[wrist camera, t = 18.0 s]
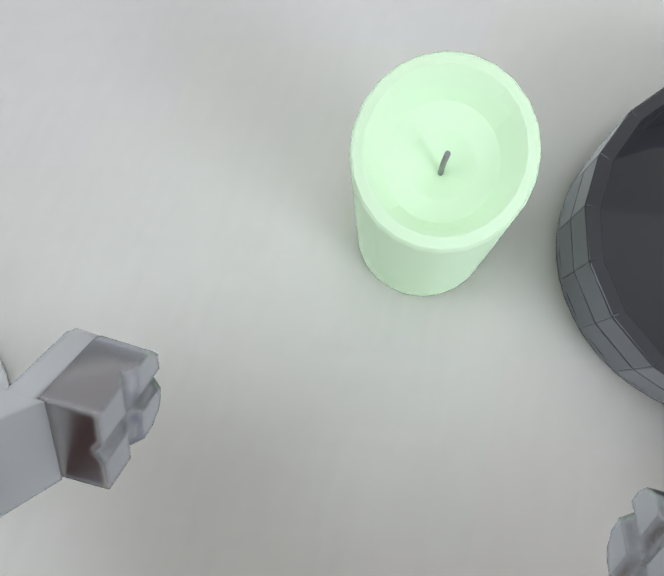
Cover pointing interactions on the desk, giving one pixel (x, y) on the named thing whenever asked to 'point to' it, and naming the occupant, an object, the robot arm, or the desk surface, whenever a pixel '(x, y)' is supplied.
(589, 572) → the desk surface
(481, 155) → the candle
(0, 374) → the beer glass
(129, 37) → the desk surface
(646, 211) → the pan
